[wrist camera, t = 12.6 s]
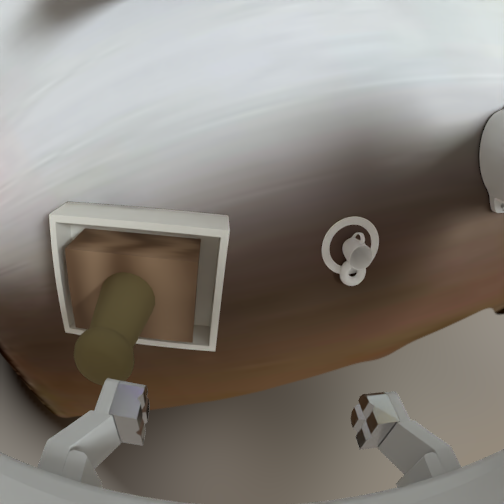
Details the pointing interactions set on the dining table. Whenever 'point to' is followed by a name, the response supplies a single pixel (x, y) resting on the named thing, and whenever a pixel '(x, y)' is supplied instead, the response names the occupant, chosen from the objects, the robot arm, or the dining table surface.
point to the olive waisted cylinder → (114, 328)
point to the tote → (157, 223)
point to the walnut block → (143, 265)
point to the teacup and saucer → (352, 250)
